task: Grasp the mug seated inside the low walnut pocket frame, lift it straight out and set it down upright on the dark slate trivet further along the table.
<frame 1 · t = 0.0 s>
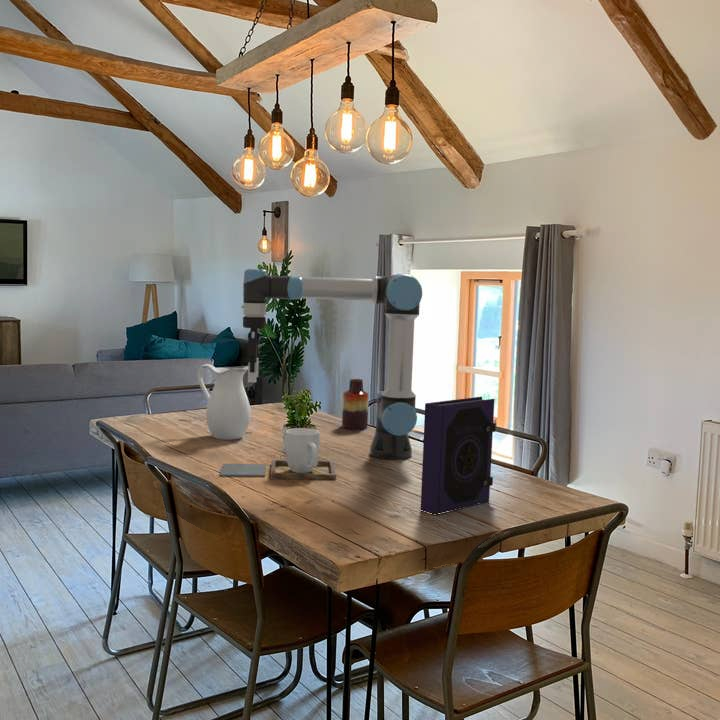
hand: (253, 379, 258), 28 cm above the table, fingers open, 13 cm apart
slate trivet: (243, 470, 248), on the table
mug: (302, 472, 250), resting in pocket frame
book: (456, 506, 217), on the table
pocket frame: (302, 471, 250), on the table
pitcher: (221, 436, 300), on the table
vase: (354, 427, 327), on the table
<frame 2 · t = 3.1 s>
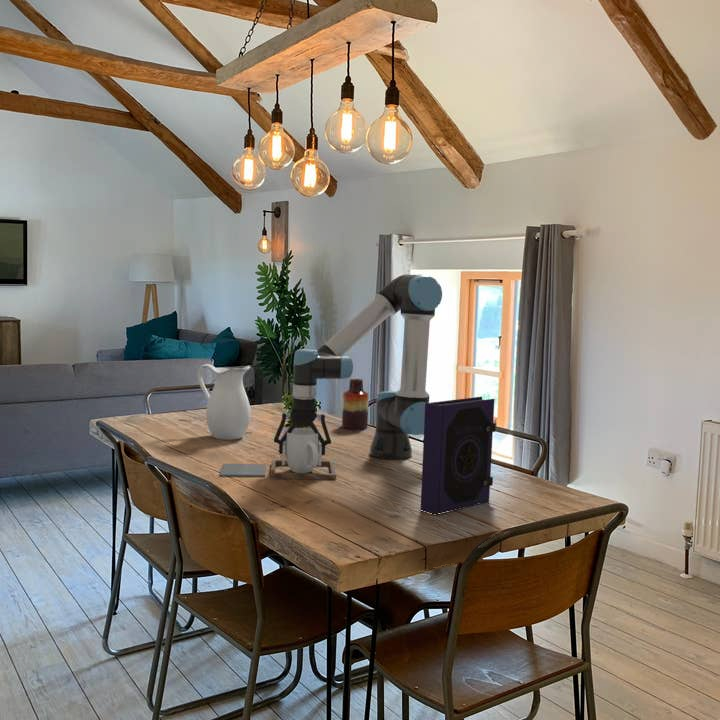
hand: (301, 464, 249), 2 cm above the table, fingers closed on mug, 11 cm apart
mug: (303, 472, 250), resting in pocket frame, touching gripper
everything else where it was.
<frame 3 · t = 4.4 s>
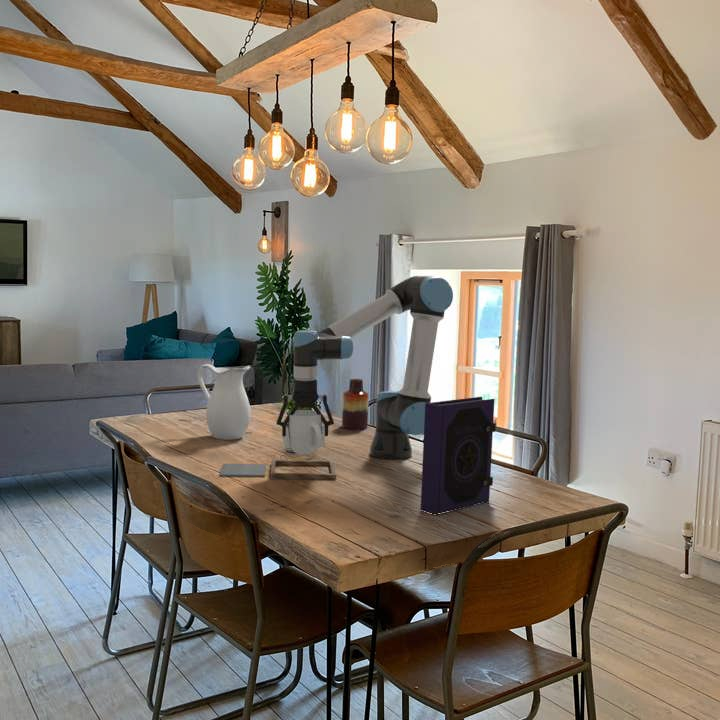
hand: (305, 446, 249), 8 cm above the table, fingers closed on mug, 11 cm apart
mug: (307, 454, 249), point 6 cm above the table, touching gripper
everything else where it was.
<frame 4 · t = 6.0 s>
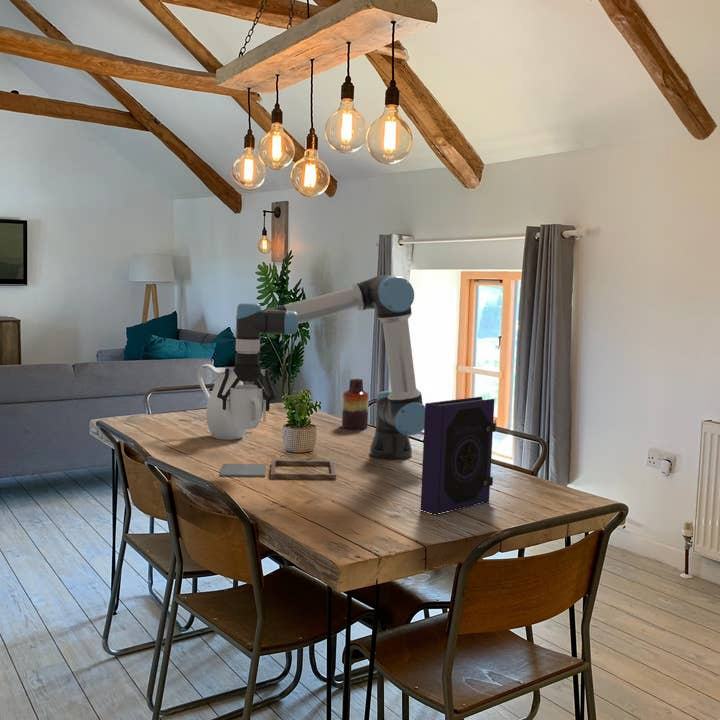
hand: (245, 420, 246), 16 cm above the table, fingers closed on mug, 11 cm apart
mug: (247, 428, 246), point 14 cm above the table, touching gripper
everything else where it was.
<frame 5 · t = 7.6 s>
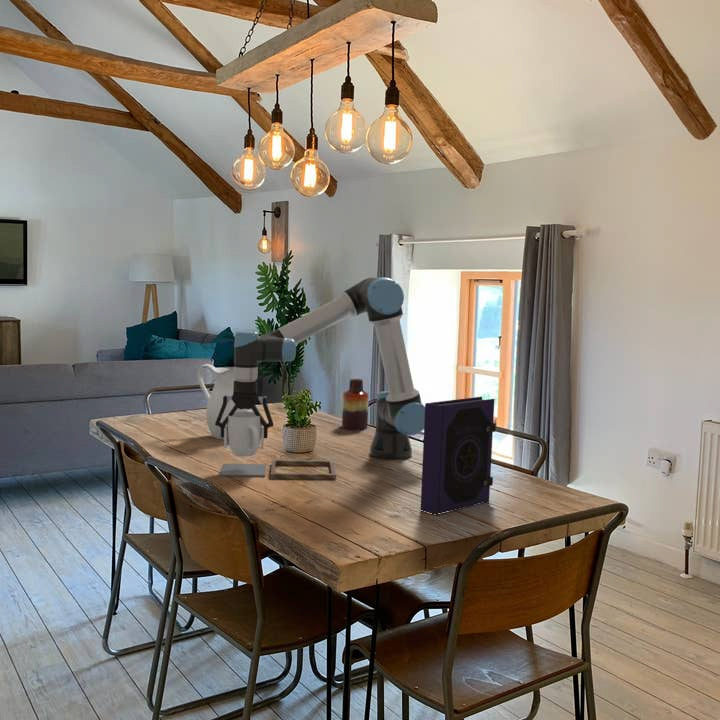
hand: (243, 447, 247), 8 cm above the table, fingers closed on mug, 11 cm apart
mug: (245, 455, 247), point 5 cm above the table, touching gripper
everything else where it was.
when the fingers open (4 cm above the table, at t = 9.0 s): mug stays where it is, resting on slate trivet.
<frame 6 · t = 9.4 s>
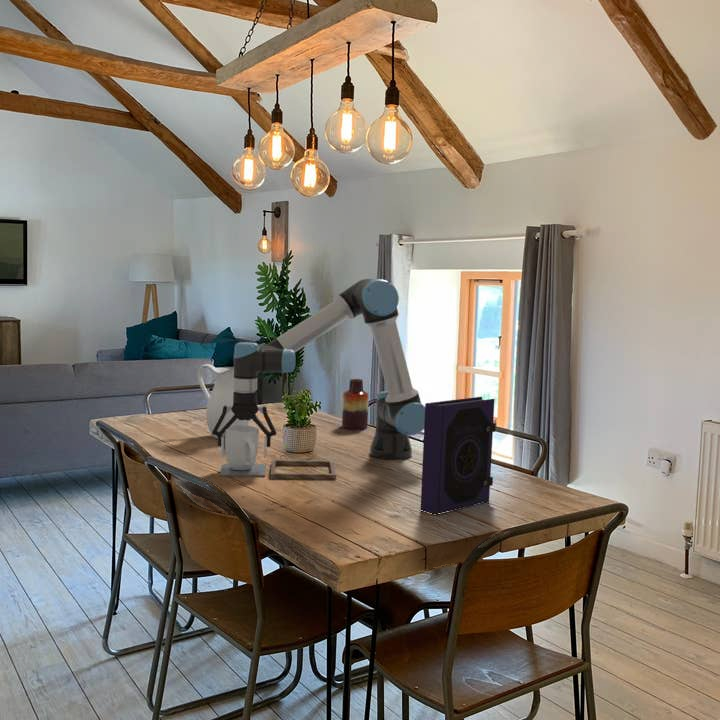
hand: (244, 456, 247), 5 cm above the table, fingers open, 13 cm apart
mug: (241, 469, 248), resting on slate trivet, touching gripper
everything else where it was.
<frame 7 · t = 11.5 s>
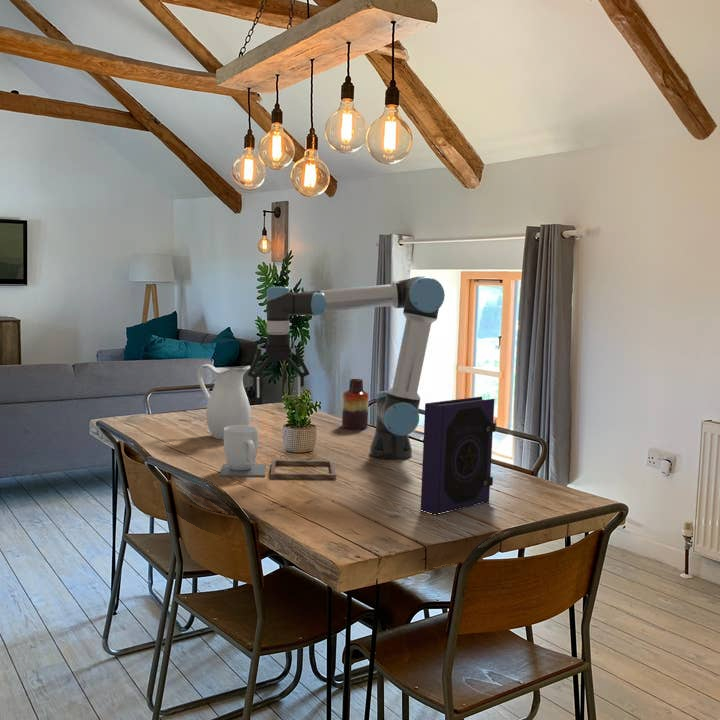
hand: (278, 396, 257), 23 cm above the table, fingers open, 13 cm apart
mug: (241, 469, 248), resting on slate trivet
everything else where it was.
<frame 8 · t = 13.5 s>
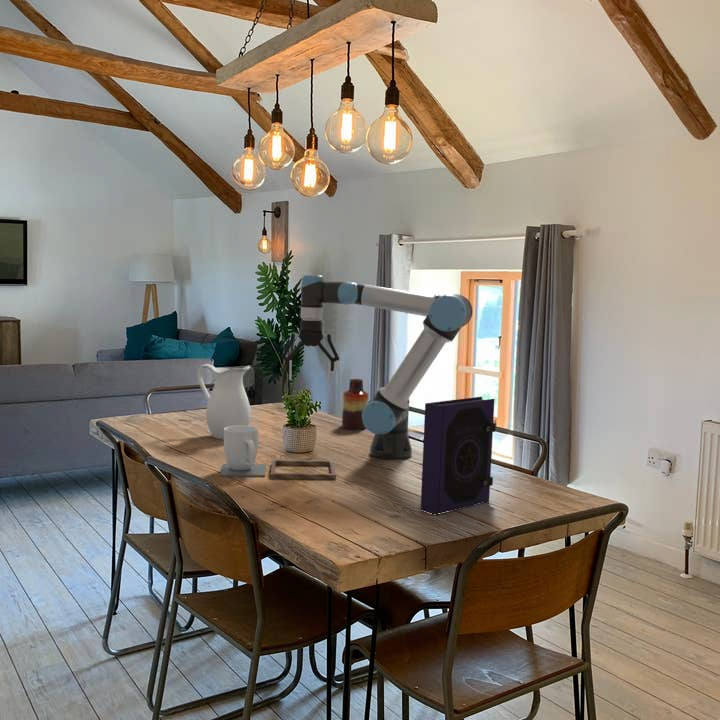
hand: (309, 380, 271), 27 cm above the table, fingers open, 13 cm apart
nothing on the table moved.
at the end: mug inside the target area on the slate trivet (0.6 cm from its centre), point 0.4 cm above the slate trivet's base; mug tilted 0°; the gripper is holding nothing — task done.
